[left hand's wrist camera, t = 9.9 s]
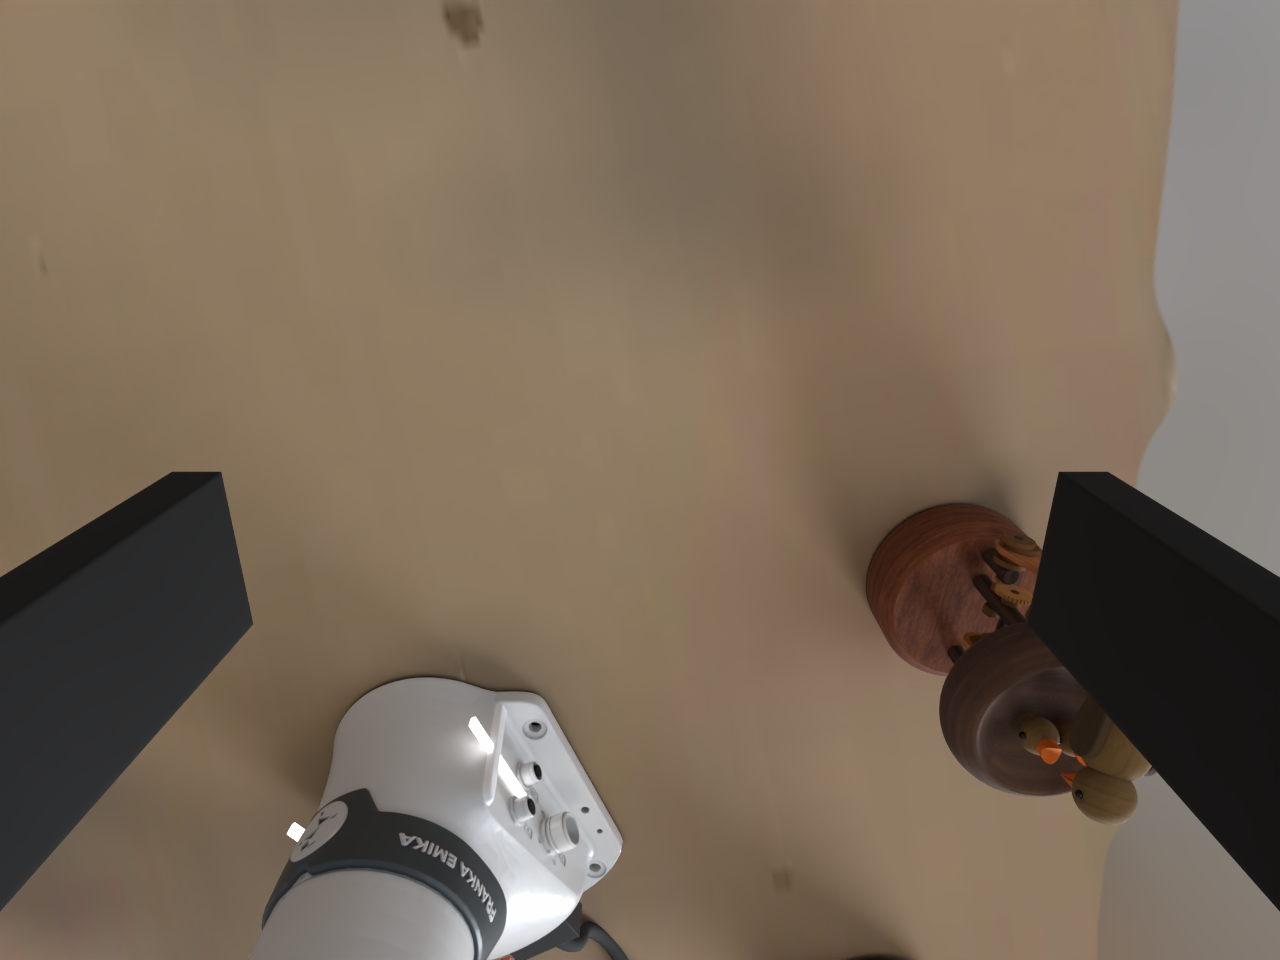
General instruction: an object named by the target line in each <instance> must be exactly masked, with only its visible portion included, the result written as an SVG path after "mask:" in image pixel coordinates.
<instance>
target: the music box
mask: <svg viewBox="0 0 1280 960" xmlns="http://www.w3.org/2000/svg"><path fill="white" fill-rule="evenodd" d="M1041 555H1042V549H1041V548H1040V547H1039V546H1038V545H1037V544H1036V542H1035V541H1034V540H1033V539H1031V538H1029V537H1028V536H1027V535H1026V534H1025V533H1024V532H1022V531H1021V530H1020V529H1019V528H1018V527H1017V526H1016V525H1015V524H1014V523H1012V522H1011V521H1010V520H1009V519H1008V518H1006V517H1005V516H1003V515H1001V514H1000V513H998V512H996V511H993V510H991V509H988V508H985V507H981V506H976V505H969V504H953V505H945V506H940V507H936V508H933V509H929V510H927V511H924V512H922V513H919V514H917V515H915V516H913V517H912V518H910V519H908V520H907V521H905V522H904V523H902V524H901V525H900V526H898V527H897V528H896V529H895V530H894V531H893V532H892V533H891V534H890V535H889V536H888V537H887V538H886V539H885V540H884V541H883V543H882V544H881V546H880V547H879V548H878V550H877V552H876V554H875V555H874V558H873V560H872V562H871V565H870V568H869V572H868V577H867V598H868V602H869V606H870V608H871V611H872V613H873V615H874V617H875V619H876V621H877V622H878V624H879V626H880V628H881V630H882V632H883V633H884V635H885V637H886V639H887V641H888V643H889V644H890V646H891V647H892V649H893V650H894V651H895V652H896V653H897V654H898V655H899V656H900V657H901V658H902V659H903V660H904V661H906V662H907V663H909V664H910V665H912V666H914V667H915V668H917V669H920V670H922V671H925V672H928V673H931V674H935V675H941V676H947V678H946V680H945V682H944V685H943V688H942V692H941V697H940V706H939V714H940V723H941V728H942V732H943V735H944V738H945V740H946V743H947V745H948V747H949V748H950V750H951V752H952V753H953V755H954V756H955V758H956V759H957V760H958V762H959V763H960V764H961V765H962V766H963V767H964V768H965V769H966V770H967V771H968V772H969V773H970V774H972V775H973V776H974V777H976V778H977V779H978V780H980V781H982V782H983V783H985V784H987V785H989V786H991V787H993V788H995V789H998V790H1000V791H1003V792H1006V793H1010V794H1014V795H1019V796H1028V797H1047V796H1056V795H1061V794H1066V793H1069V792H1072V795H1073V799H1074V801H1075V803H1076V805H1077V806H1078V808H1079V809H1080V810H1081V812H1082V813H1083V814H1085V815H1086V816H1087V817H1088V818H1090V819H1091V820H1093V821H1095V822H1098V823H1101V824H1105V825H1117V824H1121V823H1124V822H1126V821H1127V820H1129V819H1130V818H1131V817H1132V816H1133V814H1134V813H1135V811H1136V809H1137V804H1138V797H1137V792H1136V789H1135V787H1134V785H1133V783H1132V782H1131V781H1135V780H1137V779H1140V778H1141V777H1143V776H1151V775H1153V774H1155V773H1156V772H1157V771H1156V770H1155V769H1154V768H1153V767H1152V766H1151V765H1150V763H1149V762H1148V761H1147V760H1146V759H1145V758H1144V757H1143V755H1142V754H1141V753H1140V752H1139V751H1138V750H1137V749H1136V747H1135V746H1134V745H1133V744H1132V743H1131V742H1130V741H1129V740H1128V738H1127V737H1126V736H1125V735H1124V734H1123V733H1122V732H1121V730H1120V729H1119V728H1118V727H1117V726H1116V725H1115V724H1114V722H1113V721H1112V720H1111V719H1110V718H1109V717H1108V716H1107V715H1106V713H1105V712H1104V711H1103V710H1102V709H1101V708H1100V707H1099V705H1098V704H1097V703H1096V702H1095V701H1094V700H1093V699H1092V698H1091V696H1090V695H1089V694H1088V693H1087V692H1086V691H1085V690H1084V688H1083V687H1082V686H1081V685H1080V684H1079V683H1078V682H1077V680H1076V679H1075V678H1074V677H1073V676H1072V675H1071V674H1070V673H1069V671H1068V670H1067V669H1066V668H1065V667H1064V666H1063V665H1062V663H1061V662H1060V661H1059V660H1058V659H1057V658H1056V657H1055V655H1054V654H1053V653H1052V652H1051V651H1050V650H1049V649H1048V648H1047V646H1046V645H1045V644H1044V643H1043V642H1042V641H1041V640H1040V638H1039V637H1038V636H1037V635H1036V634H1035V633H1034V632H1033V631H1032V629H1031V628H1030V627H1029V626H1028V625H1027V621H1028V616H1029V612H1030V607H1031V602H1032V597H1033V593H1034V588H1035V583H1036V578H1037V574H1038V569H1039V564H1040V559H1041Z"/></svg>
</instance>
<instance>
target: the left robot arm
mask: <svg viewBox="0 0 1280 960" xmlns="http://www.w3.org/2000/svg"><path fill="white" fill-rule="evenodd" d="M252 625H253V621H252V616H251V612H250V607H249V602H248V597H247V593H246V588H245V583H244V578H243V574H242V569H241V564H240V559H239V555H238V550H237V545H236V540H235V536H234V531H233V526H232V521H231V516H230V512H229V507H228V502H227V497H226V493H225V488H224V483H223V478H222V474H221V472H171V473H170V474H168V475H166V476H165V477H163V478H161V479H160V480H158V481H157V482H155V483H153V484H152V485H150V486H148V487H147V488H145V489H143V490H142V491H140V492H139V493H137V494H135V495H134V496H132V497H130V498H129V499H127V500H126V501H124V502H122V503H121V504H119V505H117V506H116V507H114V508H113V509H111V510H109V511H108V512H106V513H104V514H103V515H101V516H100V517H98V518H96V519H95V520H93V521H91V522H90V523H88V524H86V525H85V526H83V527H82V528H80V529H78V530H77V531H75V532H73V533H72V534H70V535H69V536H67V537H65V538H64V539H62V540H60V541H59V542H57V543H56V544H54V545H52V546H51V547H49V548H47V549H46V550H44V551H42V552H41V553H39V554H38V555H36V556H34V557H33V558H31V559H29V560H28V561H26V562H25V563H23V564H21V565H20V566H18V567H16V568H15V569H13V570H12V571H10V572H8V573H7V574H5V575H3V576H2V577H0V911H1V910H2V909H3V908H4V906H5V905H6V904H7V903H8V902H9V901H10V900H11V899H12V897H13V896H14V895H15V894H16V893H17V892H18V891H19V889H20V888H21V887H22V886H23V885H24V884H25V883H26V881H27V880H28V879H29V878H30V877H31V876H32V875H33V874H34V872H35V871H36V870H37V869H38V868H39V867H40V866H41V864H42V863H43V862H44V861H45V860H46V859H47V858H48V857H49V855H50V854H51V853H52V852H53V851H54V850H55V849H56V847H57V846H58V845H59V844H60V843H61V842H62V841H63V839H64V838H65V837H66V836H67V835H68V834H69V833H70V832H71V830H72V829H73V828H74V827H75V826H76V825H77V824H78V822H79V821H80V820H81V819H82V818H83V817H84V816H85V814H86V813H87V812H88V811H89V810H90V809H91V808H92V807H93V805H94V804H95V803H96V802H97V801H98V800H99V799H100V797H101V796H102V795H103V794H104V793H105V792H106V791H107V790H108V788H109V787H110V786H111V785H112V784H113V783H114V782H115V780H116V779H117V778H118V777H119V776H120V775H121V774H122V772H123V771H124V770H125V769H126V768H127V767H128V766H129V765H130V763H131V762H132V761H133V760H134V759H135V758H136V757H137V755H138V754H139V753H140V752H141V751H142V750H143V749H144V747H145V746H146V745H147V744H148V743H149V742H150V741H151V740H152V738H153V737H154V736H155V735H156V734H157V733H158V732H159V730H160V729H161V728H162V727H163V726H164V725H165V724H166V722H167V721H168V720H169V719H170V718H171V717H172V716H173V715H174V713H175V712H176V711H177V710H178V709H179V708H180V707H181V705H182V704H183V703H184V702H185V701H186V700H187V699H188V698H189V696H190V695H191V694H192V693H193V692H194V691H195V690H196V688H197V687H198V686H199V685H200V684H201V683H202V682H203V680H204V679H205V678H206V677H207V676H208V675H209V674H210V673H211V671H212V670H213V669H214V668H215V667H216V666H217V665H218V663H219V662H220V661H221V660H222V659H223V658H224V657H225V655H226V654H227V653H228V652H229V651H230V650H231V649H232V648H233V646H234V645H235V644H236V643H237V642H238V641H239V640H240V638H241V637H242V636H243V635H244V634H245V633H246V632H247V631H248V629H249V628H250V627H251V626H252ZM1027 625H1028V626H1029V627H1030V628H1031V629H1032V631H1033V632H1034V633H1035V634H1036V635H1037V636H1038V637H1039V638H1040V640H1041V641H1042V642H1043V643H1044V644H1045V645H1046V646H1047V648H1048V649H1049V650H1050V651H1051V652H1052V653H1053V654H1054V655H1055V657H1056V658H1057V659H1058V660H1059V661H1060V662H1061V663H1062V665H1063V666H1064V667H1065V668H1066V669H1067V670H1068V671H1069V673H1070V674H1071V675H1072V676H1073V677H1074V678H1075V679H1076V680H1077V682H1078V683H1079V684H1080V685H1081V686H1082V687H1083V688H1084V690H1085V691H1086V692H1087V693H1088V694H1089V695H1090V696H1091V698H1092V699H1093V700H1094V701H1095V702H1096V703H1097V704H1098V705H1099V707H1100V708H1101V709H1102V710H1103V711H1104V712H1105V713H1106V715H1107V716H1108V717H1109V718H1110V719H1111V720H1112V721H1113V722H1114V724H1115V725H1116V726H1117V727H1118V728H1119V729H1120V730H1121V732H1122V733H1123V734H1124V735H1125V736H1126V737H1127V738H1128V740H1129V741H1130V742H1131V743H1132V744H1133V745H1134V746H1135V747H1136V749H1137V750H1138V751H1139V752H1140V753H1141V754H1142V755H1143V757H1144V758H1145V759H1146V760H1147V761H1148V762H1149V763H1150V765H1151V766H1152V767H1153V768H1154V769H1155V770H1156V771H1157V772H1158V774H1159V775H1160V776H1161V777H1162V778H1163V779H1164V780H1165V782H1166V783H1167V784H1168V785H1169V786H1170V787H1171V788H1172V789H1173V791H1174V792H1175V793H1176V794H1177V795H1178V796H1179V797H1180V799H1181V800H1182V801H1183V802H1184V803H1185V804H1186V805H1187V807H1188V808H1189V809H1190V810H1191V811H1192V812H1193V813H1194V814H1195V816H1196V817H1197V818H1198V819H1199V820H1200V821H1201V822H1202V824H1203V825H1204V826H1205V827H1206V828H1207V829H1208V830H1209V832H1210V833H1211V834H1212V835H1213V836H1214V837H1215V838H1216V839H1217V841H1218V842H1219V843H1220V844H1221V845H1222V846H1223V847H1224V849H1225V850H1226V851H1227V852H1228V853H1229V854H1230V855H1231V857H1232V858H1233V859H1234V860H1235V861H1236V862H1237V863H1238V864H1239V866H1240V867H1241V868H1242V869H1243V870H1244V871H1245V872H1246V873H1247V875H1248V876H1249V877H1250V878H1251V879H1252V880H1253V881H1254V883H1255V884H1256V885H1257V886H1258V887H1259V888H1260V889H1261V891H1262V892H1263V893H1264V894H1265V895H1266V896H1267V897H1268V899H1269V900H1270V901H1271V902H1272V903H1273V904H1274V905H1275V906H1276V908H1277V909H1278V910H1279V911H1280V577H1278V576H1277V575H1275V574H1273V573H1272V572H1270V571H1268V570H1267V569H1265V568H1264V567H1262V566H1260V565H1259V564H1257V563H1255V562H1254V561H1252V560H1251V559H1249V558H1247V557H1246V556H1244V555H1242V554H1241V553H1239V552H1237V551H1236V550H1234V549H1233V548H1231V547H1229V546H1228V545H1226V544H1224V543H1223V542H1221V541H1220V540H1218V539H1216V538H1215V537H1213V536H1211V535H1210V534H1208V533H1207V532H1205V531H1203V530H1202V529H1200V528H1198V527H1197V526H1195V525H1194V524H1192V523H1190V522H1189V521H1187V520H1185V519H1184V518H1182V517H1180V516H1179V515H1177V514H1176V513H1174V512H1172V511H1171V510H1169V509H1167V508H1166V507H1164V506H1163V505H1161V504H1159V503H1158V502H1156V501H1154V500H1153V499H1151V498H1150V497H1148V496H1146V495H1145V494H1143V493H1141V492H1140V491H1138V490H1137V489H1135V488H1133V487H1132V486H1130V485H1128V484H1127V483H1125V482H1123V481H1122V480H1120V479H1119V478H1117V477H1115V476H1114V475H1112V474H1110V473H1109V472H1059V474H1058V478H1057V483H1056V488H1055V493H1054V497H1053V502H1052V507H1051V512H1050V516H1049V521H1048V526H1047V531H1046V536H1045V540H1044V545H1043V550H1042V555H1041V559H1040V564H1039V569H1038V574H1037V578H1036V583H1035V588H1034V593H1033V597H1032V602H1031V607H1030V612H1029V616H1028V621H1027Z"/></svg>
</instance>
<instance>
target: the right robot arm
mask: <svg viewBox="0 0 1280 960" xmlns="http://www.w3.org/2000/svg"><path fill="white" fill-rule="evenodd" d="M532 722H537V723H539V724H540V725H533V724H532ZM287 835H289V836H290V837H292V838H293V839H295V840H296V841H297V844H296V845H295V847H294V849H293V851H292V854H291V856H290V858H289V860H288V862H287V864H286V866H285V868H284V870H283V872H282V874H281V876H280V878H279V880H278V882H277V884H276V886H275V889H274V891H273V893H272V895H271V897H270V899H269V901H268V903H267V906H266V908H265V911H264V914H263V919H262V932H261V934H260V936H259V938H258V940H257V942H256V944H255V946H254V948H253V950H252V952H251V954H250V956H249V958H248V960H493V959H496V958H499V957H502V956H505V955H507V954H511V955H512V956H513V957H514V958H515V960H527V959H529V958H532V957H534V956H536V955H538V954H541V953H543V952H545V951H547V950H550V949H552V948H554V947H557V948H559V949H561V950H564V951H567V952H577V951H580V950H581V949H582V948H583V947H584V946H585V945H586V943H587V941H588V939H589V938H592V939H594V940H595V941H597V942H598V943H599V944H601V945H602V946H603V947H604V949H605V950H606V951H607V952H608V953H609V955H610V956H611V958H612V959H613V960H628V958H627V957H626V955H625V954H624V952H623V951H622V949H621V948H620V947H619V945H618V944H617V943H616V942H615V941H614V940H613V939H612V938H611V936H610V935H609V934H608V933H607V932H606V931H605V930H603V929H602V928H601V927H599V926H598V925H596V924H593V923H583V924H582V925H581V926H580V922H581V909H582V904H581V903H580V902H579V900H580V898H581V896H582V893H583V892H584V891H586V890H587V889H588V888H590V887H591V886H593V885H594V884H595V883H596V882H598V881H599V880H600V879H601V878H602V877H603V876H604V875H605V874H606V873H607V872H608V871H609V870H610V869H611V868H612V866H613V865H614V864H615V862H616V860H617V859H618V857H619V855H620V853H621V849H622V843H623V840H622V837H621V834H620V833H619V831H618V829H617V827H616V825H615V823H614V822H613V820H612V818H611V816H610V815H609V813H608V811H607V809H606V808H605V806H604V804H603V802H602V800H601V799H600V797H599V795H598V793H597V792H596V790H595V788H594V786H593V785H592V783H591V781H590V779H589V777H588V776H587V774H586V772H585V770H584V769H583V767H582V765H581V763H580V762H579V760H578V758H577V756H576V754H575V753H574V751H573V749H572V747H571V746H570V744H569V742H568V740H567V739H566V737H565V735H564V733H563V732H562V730H561V728H560V726H559V724H558V723H557V721H556V719H555V717H554V716H553V714H552V712H551V710H550V709H549V707H548V705H547V703H546V702H545V700H544V699H543V698H542V697H541V696H539V695H537V694H534V693H530V692H520V691H505V692H495V691H490V690H486V689H482V688H479V687H476V686H473V685H470V684H467V683H464V682H460V681H456V680H451V679H444V678H434V677H421V678H410V679H404V680H399V681H395V682H392V683H388V684H386V685H383V686H381V687H379V688H376V689H374V690H373V691H371V692H369V693H367V694H366V695H364V696H363V697H362V698H360V699H359V700H358V701H357V702H356V703H355V704H354V705H353V706H352V707H351V708H350V709H349V710H348V711H347V713H346V714H345V715H344V717H343V719H342V720H341V722H340V724H339V726H338V729H337V732H336V735H335V740H334V748H333V758H332V764H331V769H330V773H329V777H328V781H327V784H326V788H325V791H324V794H323V797H322V800H321V803H320V806H319V808H318V811H317V813H316V814H315V815H314V817H313V818H312V820H311V821H310V823H309V824H308V826H307V828H306V829H304V828H302V827H301V826H299V825H298V824H296V823H293V824H292V826H291V827H290V829H289V831H288V833H287ZM594 863H595V864H594ZM501 960H511V958H510V956H508V957H505V958H503V959H501Z"/></svg>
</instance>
